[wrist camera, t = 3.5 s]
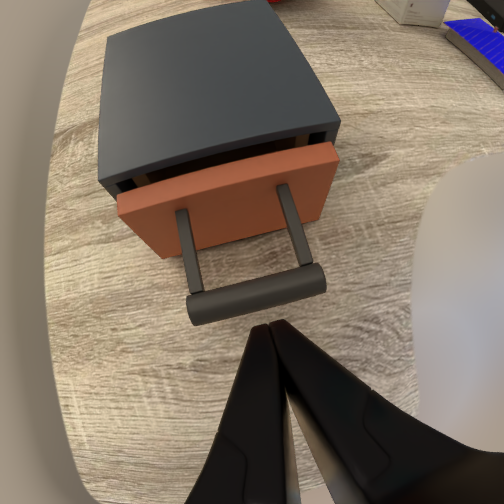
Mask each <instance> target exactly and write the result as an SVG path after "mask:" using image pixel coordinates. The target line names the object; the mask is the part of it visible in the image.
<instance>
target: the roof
mask: <svg viewBox="0 0 504 504" xmlns="http://www.w3.org/2000/svg"><path fill="white" fill-rule="evenodd" d="M443 23H444V24H445V25H447V26H448V27H449V31H448V33H447V35H446V38H447V39H448V40H449V41H451V42H452V43H453V44H454V45H455V46H457V47H458V48H459V49H460V50H461V51H462V52H464V53H465V54H466V55H467V56H468V57H469V58H470V59H472V60H473V61H474V62H475V63H476V64H477V65H478V66H479V67H480V68H481V69H482V70H483V71H484V72H486V73H487V74H488V75H489V76H490V77H491V78H492V79H493V80H494V81H495V82H496V83H497V84H498V85H499V86H500V87H501V89H502V90H503V89H504V36H503V35H502V34H500V33H499V32H498V31H497V30H498V27H497V26H495V28H492V27H491V26H490V25H488V24H487V23H485V22H484V21H483V20H481V19H480V18H475V19H464V20H456V21H448V22H443Z"/></svg>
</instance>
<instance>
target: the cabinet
mask: <svg viewBox="0 0 504 504" xmlns="http://www.w3.org/2000/svg"><path fill="white" fill-rule="evenodd" d="M340 123H341V119H340V117H339V116H338V114H337V112H336V110H335V108H334V106H333V104H332V103H331V101H330V99H329V97H328V95H327V94H326V92H325V90H324V88H323V87H322V85H321V83H320V81H319V80H318V78H317V76H316V75H315V73H314V71H313V70H312V68H311V66H310V65H309V63H308V61H307V60H306V58H305V57H304V55H303V53H302V52H301V50H300V49H299V47H298V45H297V44H296V42H295V41H294V39H293V38H292V36H291V35H290V33H289V32H288V30H287V29H286V27H285V26H284V24H283V23H282V21H281V20H280V18H279V17H278V16H277V14H276V13H275V11H274V10H273V9H272V7H271V6H270V4H269V3H268V2H267V0H250V1H243V2H236V3H230V4H224V5H219V6H213V7H208V8H204V9H199V10H194V11H190V12H186V13H182V14H178V15H174V16H170V17H167V18H163V19H159V20H156V21H153V22H149V23H146V24H143V25H140V26H137V27H134V28H131V29H128V30H125V31H122V32H119V33H117V34H114V35H111V36H109V37H107V44H106V51H105V59H104V67H103V77H102V87H101V99H100V114H99V134H98V181H99V183H100V184H101V185H102V186H103V187H104V188H105V189H106V190H107V191H108V192H109V194H110V195H111V196H112V197H113V198H114V199H115V200H116V201H117V195H118V194H121V193H124V192H127V191H130V190H133V189H136V188H138V186H137V185H136V184H135V182H134V181H133V179H132V178H133V177H136V176H139V175H143V174H146V173H149V172H152V171H156V170H159V169H162V168H166V167H169V166H173V165H176V164H180V163H183V162H187V161H191V160H194V159H198V158H202V157H206V156H210V155H214V154H217V153H221V152H226V151H230V150H234V149H238V148H242V147H247V146H251V145H256V144H260V143H265V142H270V141H274V140H279V139H284V138H289V137H295V136H300V135H305V134H309V140H308V145H314V144H319V143H325V142H332V144H333V147H334V143H335V140H336V136H337V133H338V129H339V126H340Z"/></svg>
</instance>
